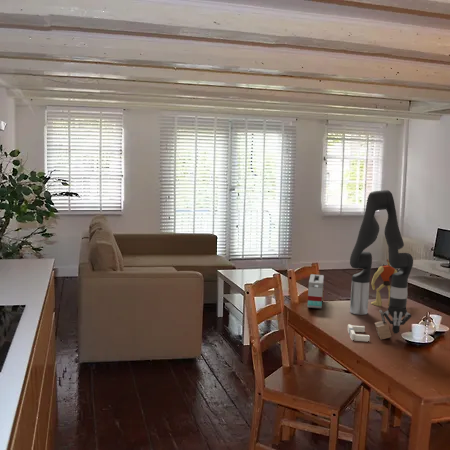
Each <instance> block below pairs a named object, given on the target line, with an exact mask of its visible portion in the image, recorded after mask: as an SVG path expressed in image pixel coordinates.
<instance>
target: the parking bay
mask: <svg viewBox="0 0 450 450" xmlns="http://www.w3.org/2000/svg"><path fill="white" fill-rule="evenodd" d="M365 329H366V327H365V325H352V324H347V332H348V335H349V337H350V339H351V341H353V340H354V341H355V342H368V341H369V342H370V337H371V336H370V335H369V334H360V333H365V332H366V330H365ZM356 332H357V333H356ZM358 333H359V334H358Z"/></svg>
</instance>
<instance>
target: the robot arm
mask: <svg viewBox="0 0 450 450" xmlns="http://www.w3.org/2000/svg"><path fill="white" fill-rule="evenodd" d="M382 210H384V211H385V210H386V212H387V220H386V224H385V226H384V238H385V240H386V244H387V247H388V259H389V263H390V266H391V267H393V268H394V269H396V270H397V269H398V271H397V273H394V274H392V275H391V282H390V288H391V289H390V300H389V299H388V302H389V306H388V307H387V310H385V311H383V313H384V318H385V320H387V322H388V323H389V324H390V325H392V329H391V330H392V332H393V334H399V332H400V330H401V329H400V327H401V326H403V325H405V324H406V323H407V322H408V321H409V319H411V317H412V314H411V313H409V312H408V309H407V304H408V303H407V302H408V284H409V283H408V281H409V276H410V274H411V271H412V268H413V266H414V258H413V256H412V254H411V253H410V252H399V250H401V249H403V247H404V246H405V244H404V240H403V236H402V234H401V231H400V227H399V222H398V215H397V210H396V204H395V199H394V196H393V193H392V192H391V191H390V190H388V189H384V190H374V191H371V192H369V194H368V196H367V199H366V204H365V210H364V215H363V219H362V222H361V225H360V228H359V231H358V235H357V239H356V242H355V245H354V246H353V249H352V251H351V253H350V258H349V265H350V267H351V268H353V269H359V270H361V271H360V272H358V273H355V274H352V276H351V287H350V289H351V290H350V304H349V312H350V314H353V315H359V316H360V315H361V316H363V315H368V309H369V296H370V295H369V294H370V284H371V283H370V281H371V280H370V279H371V272H372V265H373V264H372V263H373V256H372V255H373V254H372V252H370V251H365V250H366V249H367V248H368V247H370V246H371V245H372V244H374V243H375V242H376V240H377V238H378V236H379V233H380V225H379V223H378V221H377V219H376V217H375V214H376V212H377V211H382ZM389 314H390V315H389ZM389 316H391V318H392V320H391V319H390V317H389Z"/></svg>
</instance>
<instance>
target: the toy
mask: <svg viewBox="0 0 450 450" xmlns="http://www.w3.org/2000/svg"><path fill="white" fill-rule="evenodd" d="M386 262H387V265H380V266H379V267H378V269H377V271H375V273H374V274H373V277H372V279H371V283H370V285H371V288H372V290H373V291H375V290H376V293H375V294H376V295H375V296H376V297H375V300H374V301H371V302H370V304H371V305H374V306H376V307H382V302H383V301H382V297H381V296H382V295H381V292H380V291H381V290H382V289H383V288H385V287H387V289H388V302H387V303H388V304H387V306H388V307H389V300H390V289H391V282H390V277H392V275H393V274H394V273H397V272H398V270H397V269H395V268H393V267H392V266H391V265H390V263H389V258H388V259H386ZM379 276H380V277H381V279H382V281H383V283H382V284H380V285H379V287H377V288H376V284H375V283H376V281H377V280H378V278H379Z"/></svg>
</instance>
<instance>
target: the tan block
mask: <svg viewBox="0 0 450 450" xmlns="http://www.w3.org/2000/svg"><path fill="white" fill-rule="evenodd" d="M378 312H379V313H380V317H381V321H376V322H374V326H375V329H376V332H377V336H378V337H379V339H380V341H381V340H386V339H389V338H392V333H391V330H390V327H389V324H388V321H386V317H385V316H384V313H383V312H384V311H383V310H382V309H379V310H378Z"/></svg>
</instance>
